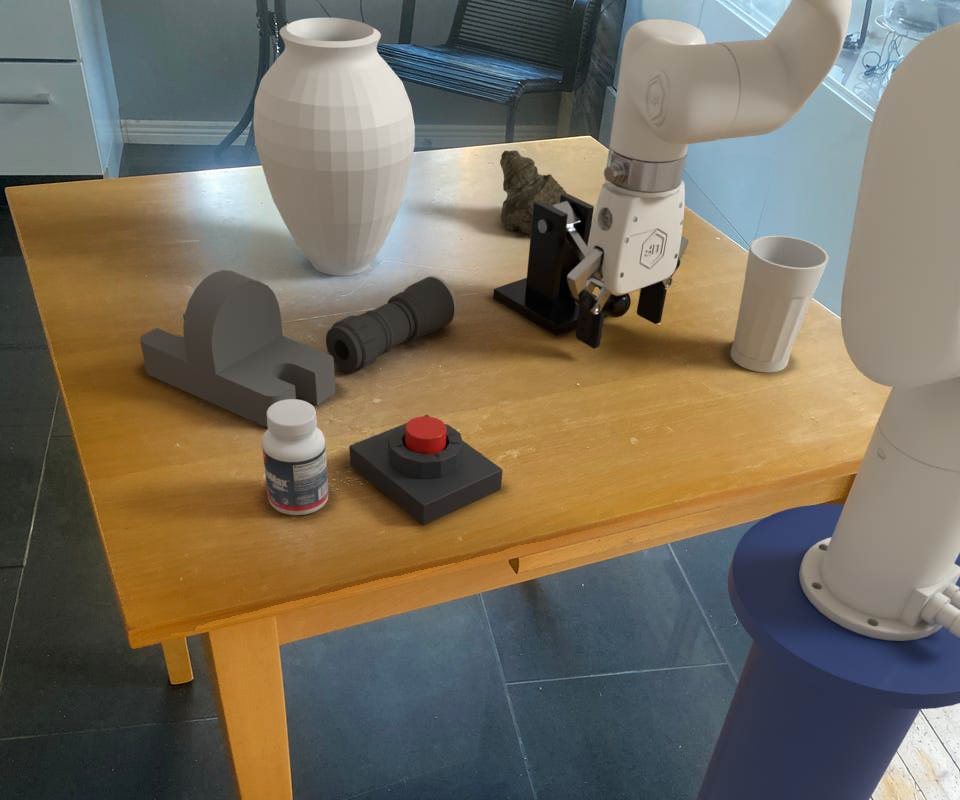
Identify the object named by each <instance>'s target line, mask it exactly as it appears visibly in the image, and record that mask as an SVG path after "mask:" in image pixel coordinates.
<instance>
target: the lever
mask: <svg viewBox="0 0 960 800" xmlns="http://www.w3.org/2000/svg"><path fill="white" fill-rule="evenodd" d="M552 207H554V208H556V209H558V210H561V211H563V212H565V213H567V214H568V217H567V225H566V234H565V238H566V240H567V241H568V243H569V244H570V246H571V247H572V249H573V250H574V252H575V253H576V255H577V256H578V258H579V259H580V261H582V260H583V259H584V258H585V257H586V253H587V246H586V244H585V242H584V241H583V239H582V238H581V236H580V235H579V233H578V232H577V230H576V228H577V226H578V225H579V223H580V222H581V221H580V219H579V218H578V216H577V215H576V213H575V212H574V210H573V209H572V207H571V206H570V204H569V203H568V201H566V202H562V203H559V204H555V205H553V206H552ZM601 281H603V282H604V280H603V279H602V280H601ZM598 290H599V291H600V290H601V289H600V288H598ZM631 303H632V299H631V295H630V293H627V294H624V295H620V296H616V295H613V294H612V293H611V295H610V296H609V298H608V300H607V301H606V303H605V304H604V306H603V308H602V309H603V311H604V312H605V313H606V314H607V315H608V317H610V318H620V317H623V316H624V315H626V314H627V313H628V311H629V310H630V307H631Z"/></svg>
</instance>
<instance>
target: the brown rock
mask: <svg viewBox="0 0 960 800" xmlns="http://www.w3.org/2000/svg"><path fill="white" fill-rule="evenodd" d="M499 162H500V163H499V165H500V167H501V170H502V174H503V182H502V184H503V185H502V187H503V191H504V192H505V193H506V198H505V200H504V201H503V202H502V207H501V213H500V217H499V218H500V220H501V221H502V223H503V224H504V226H505V227H506V228H507V229H508V230H510V231H517V230H520V229H521V231H522V232H523V233H524V234H527V235H531V227H532V216H533V205H534V202H537V201H542V202H544V203H546V204H548V205H550V206H553V205H555V204H559V203H560V195H562V194H565V193H567V191H566V190H565V189H564V187H563V186H562V185H561V184H559V182H558V181H557V180H556V179H555V178H554V177H553V176H552V174H551V173H548V174H541V173H539V171H538V167H537V166H535V164H536V162H535V161H534V160H533V159H532V158H531V157H525V156H522V155H521V154H520V152H519V151H518V150H516V149H514V150H504V151H503V152H502V153H501V157H500V160H499Z"/></svg>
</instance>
